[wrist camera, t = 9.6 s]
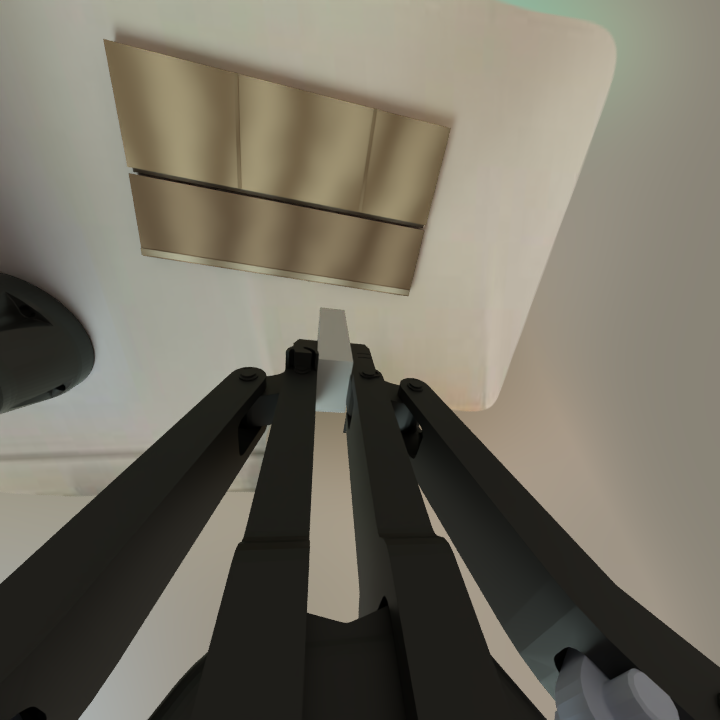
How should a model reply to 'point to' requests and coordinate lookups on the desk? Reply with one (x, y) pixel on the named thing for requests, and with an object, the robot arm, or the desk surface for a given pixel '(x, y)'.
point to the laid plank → (272, 138)
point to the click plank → (272, 237)
